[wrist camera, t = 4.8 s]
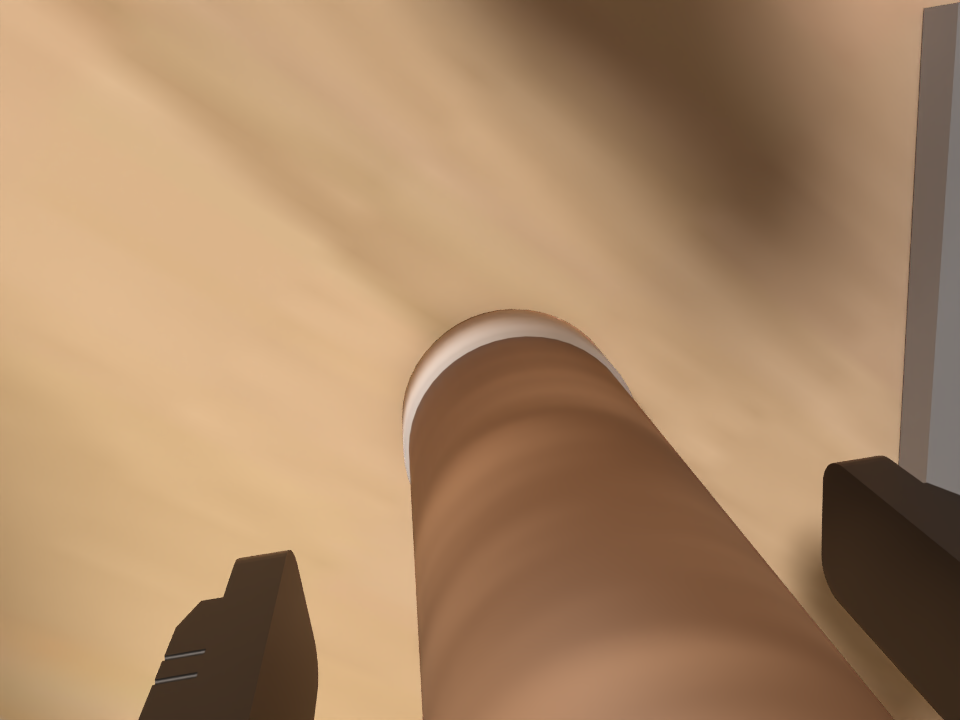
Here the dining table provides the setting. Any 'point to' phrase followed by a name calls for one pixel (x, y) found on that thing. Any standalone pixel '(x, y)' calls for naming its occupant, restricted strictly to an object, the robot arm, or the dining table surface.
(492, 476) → the handle
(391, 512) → the dining table surface
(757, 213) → the dining table surface
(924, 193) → the holder
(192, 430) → the dining table surface
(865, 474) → the robot arm
